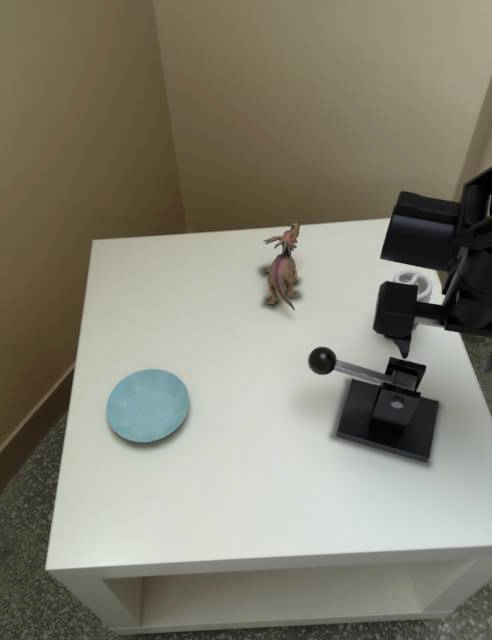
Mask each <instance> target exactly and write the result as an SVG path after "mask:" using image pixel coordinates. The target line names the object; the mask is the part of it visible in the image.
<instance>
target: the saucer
mask: <svg viewBox="0 0 492 640" xmlns="http://www.w3.org/2000/svg"><path fill="white" fill-rule="evenodd" d="M189 407H190V394H189V391H188V388H187V386H186V384H185V383H184V381H183V380H182V379H181V378H180V377H179V376H178V375H176V374H174V373H172V372H170V371H168V370H165V369H161V368H146V369H145V368H144V369H141V370H137V371H135V372H132V373H130V374H128V375H127V376H124V378H122V379H121V380H120V381H119V382H118V383H116V385H115V386H114V388H113V389H112V390H111V392H110V393H109V396H108V398H107V402H106V405H105V414H106V419H107V422H108V424H109V426H110V428H111V429H112V430H113V432H115V433H116V434H117V435H118V436H119V437H121V438H123V439H125V440H127V441H130V442H131V441H132V442H135V443H150V442H154V441H157V440H161V439H163V438H165V437H167V436H169V435H170V434H172V433H173V432H175V431H176V430H177V429H178V428H179V427H180V426H181V424H182V423H183V422H184V420H185V419H186V417H187V415H188V411H189V409H190V408H189Z"/></svg>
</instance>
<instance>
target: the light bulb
mask: <svg viewBox="0 0 492 640" xmlns="http://www.w3.org/2000/svg"><path fill="white" fill-rule="evenodd" d="M391 282H398V283H405V284H411V285H417V286H418V294H417V301H419V302H426V303H430V300H431V297H432V294H433V287H434V286H433V282H432V280H431V279H430V278H429V277H428V276H427V275H425V274H423V273H421V272H419V271H417V270H412V269H403V270H400V271H398V272H397V273H395V275H394V276H393V279H392V280H391ZM418 325H419V324H416V323H414V325H413V329H412V333H413V332H414V331H415V330H416V329H417V327H419V326H418Z"/></svg>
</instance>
